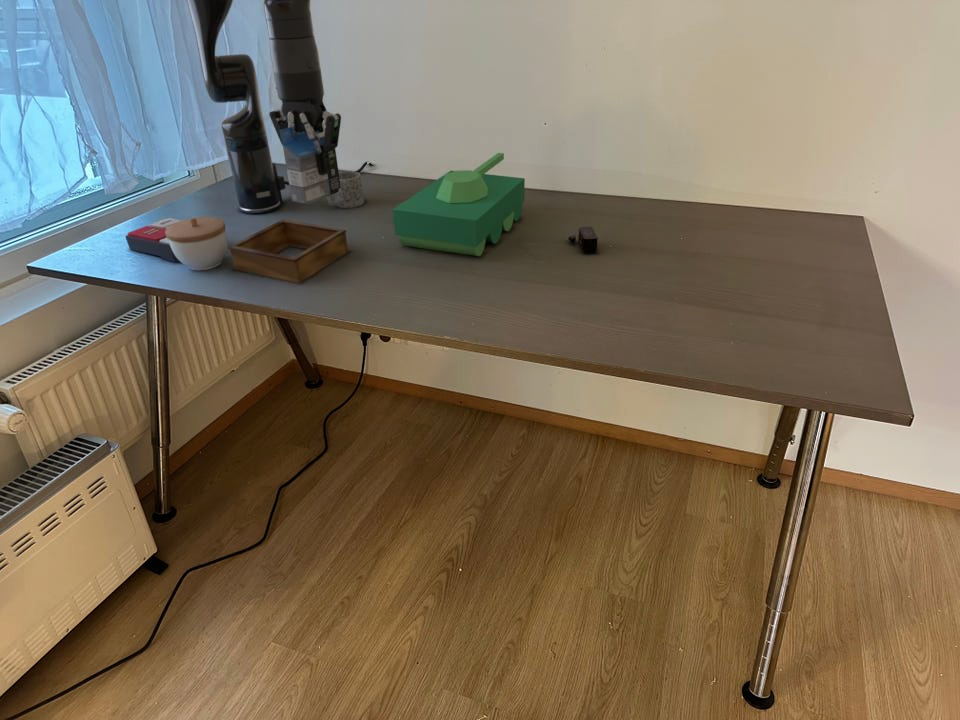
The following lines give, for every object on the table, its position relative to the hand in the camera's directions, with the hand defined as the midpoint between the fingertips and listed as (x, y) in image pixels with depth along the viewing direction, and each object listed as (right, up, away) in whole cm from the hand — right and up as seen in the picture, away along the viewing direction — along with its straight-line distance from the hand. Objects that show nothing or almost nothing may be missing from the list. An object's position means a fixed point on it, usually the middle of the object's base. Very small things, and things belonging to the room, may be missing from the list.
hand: (313, 172), depth 117 cm
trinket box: (-25, -14, +13) cm, 32 cm away
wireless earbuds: (+50, -11, +16) cm, 54 cm away
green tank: (+27, -4, +27) cm, 39 cm away
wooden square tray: (-8, -14, +14) cm, 21 cm away
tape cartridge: (0, -4, +2) cm, 5 cm away
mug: (-3, +4, +41) cm, 41 cm away
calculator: (-34, -10, +21) cm, 42 cm away
